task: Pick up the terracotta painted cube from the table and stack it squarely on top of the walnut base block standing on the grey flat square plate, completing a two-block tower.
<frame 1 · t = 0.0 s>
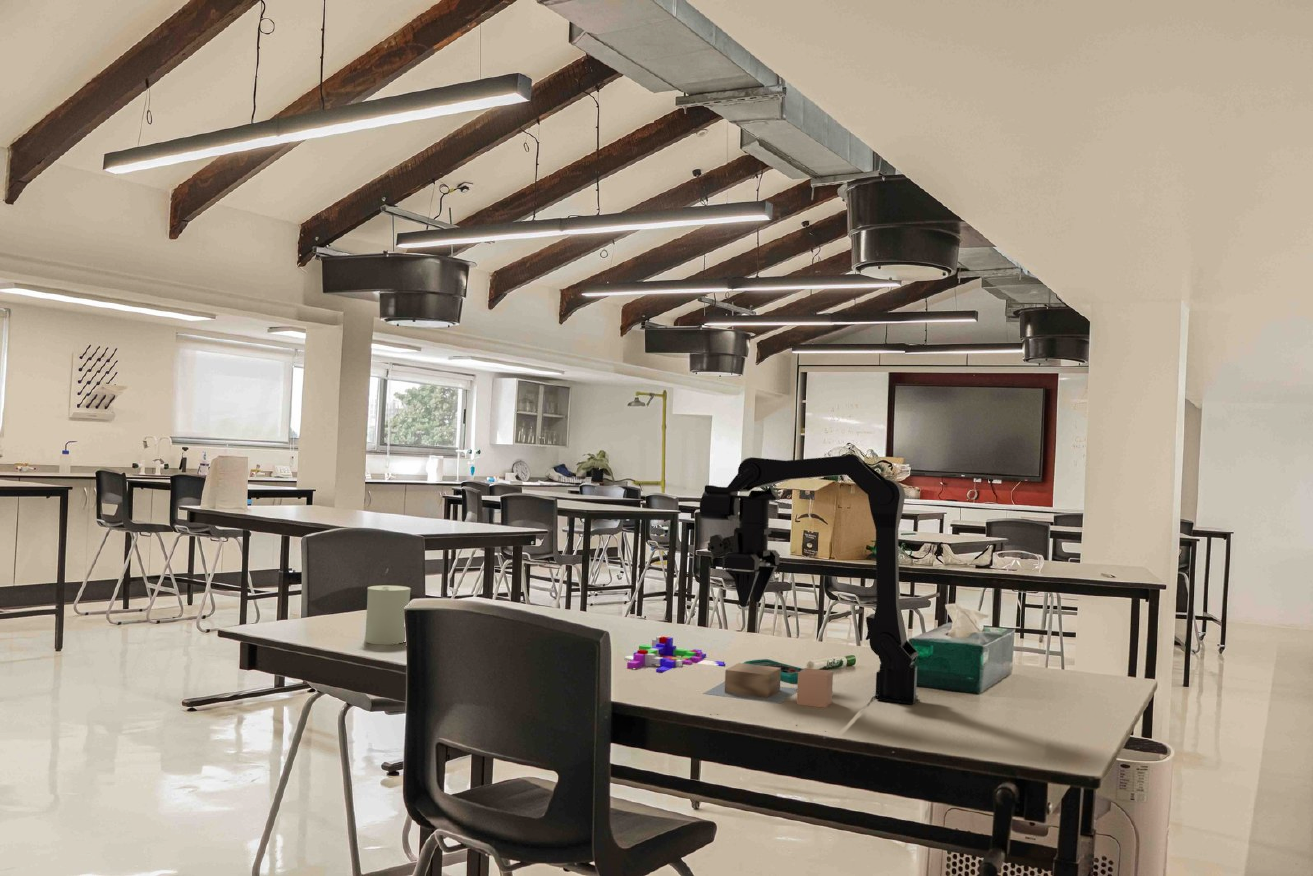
hand: (750, 604, 198), 15 cm above the table, fingers open, 9 cm apart
grey flat square plate: (752, 694, 186), on the table
building block set: (675, 665, 215), on the table
terracotta cube: (814, 706, 178), on the table
walnut base block: (752, 691, 186), point 1 cm above the table, touching grey flat square plate
can: (386, 642, 223), on the table
digital multimeter: (778, 681, 202), on the table
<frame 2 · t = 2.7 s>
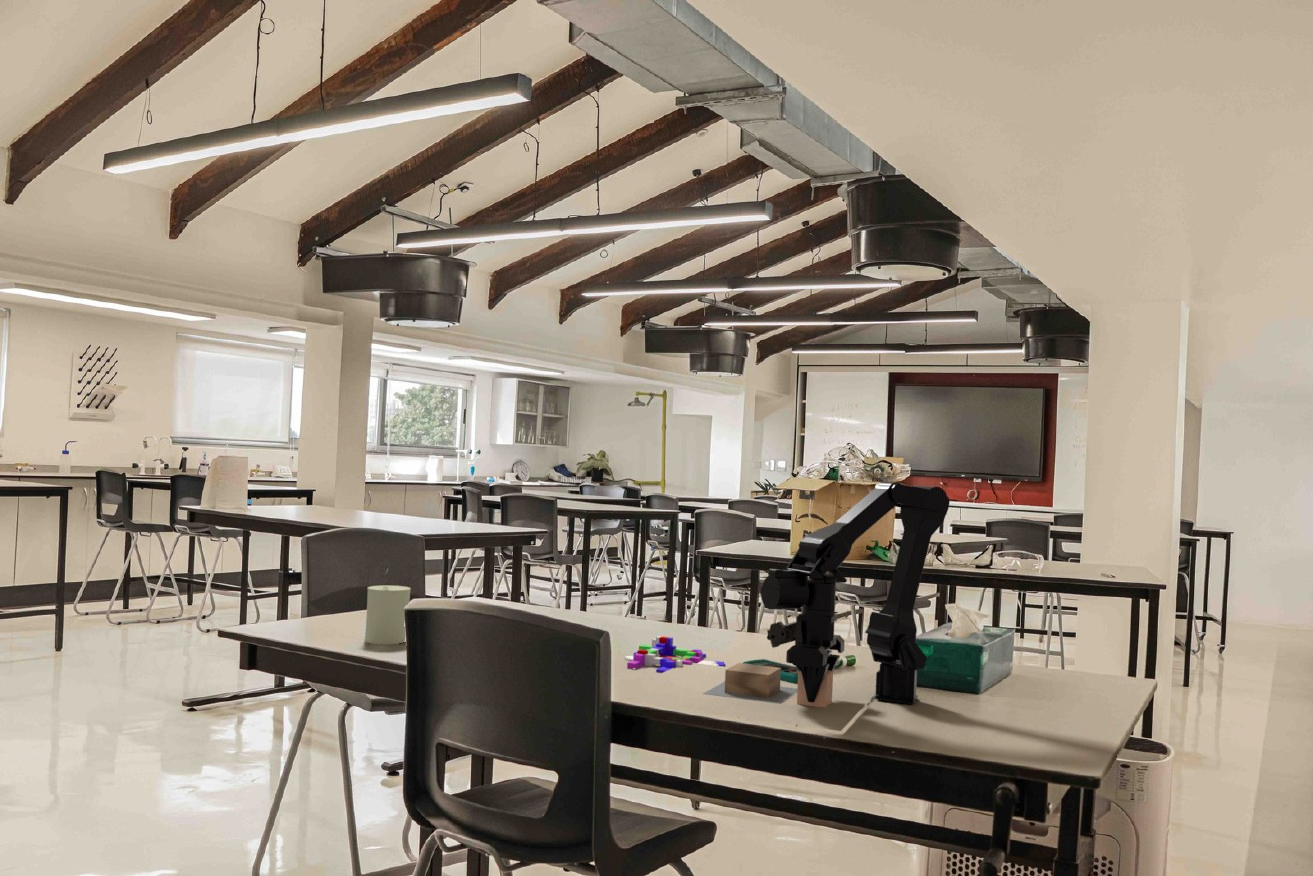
hand: (814, 699, 178), 1 cm above the table, fingers closed on terracotta cube, 5 cm apart
terracotta cube: (814, 706, 178), on the table, touching gripper
everything else where it was.
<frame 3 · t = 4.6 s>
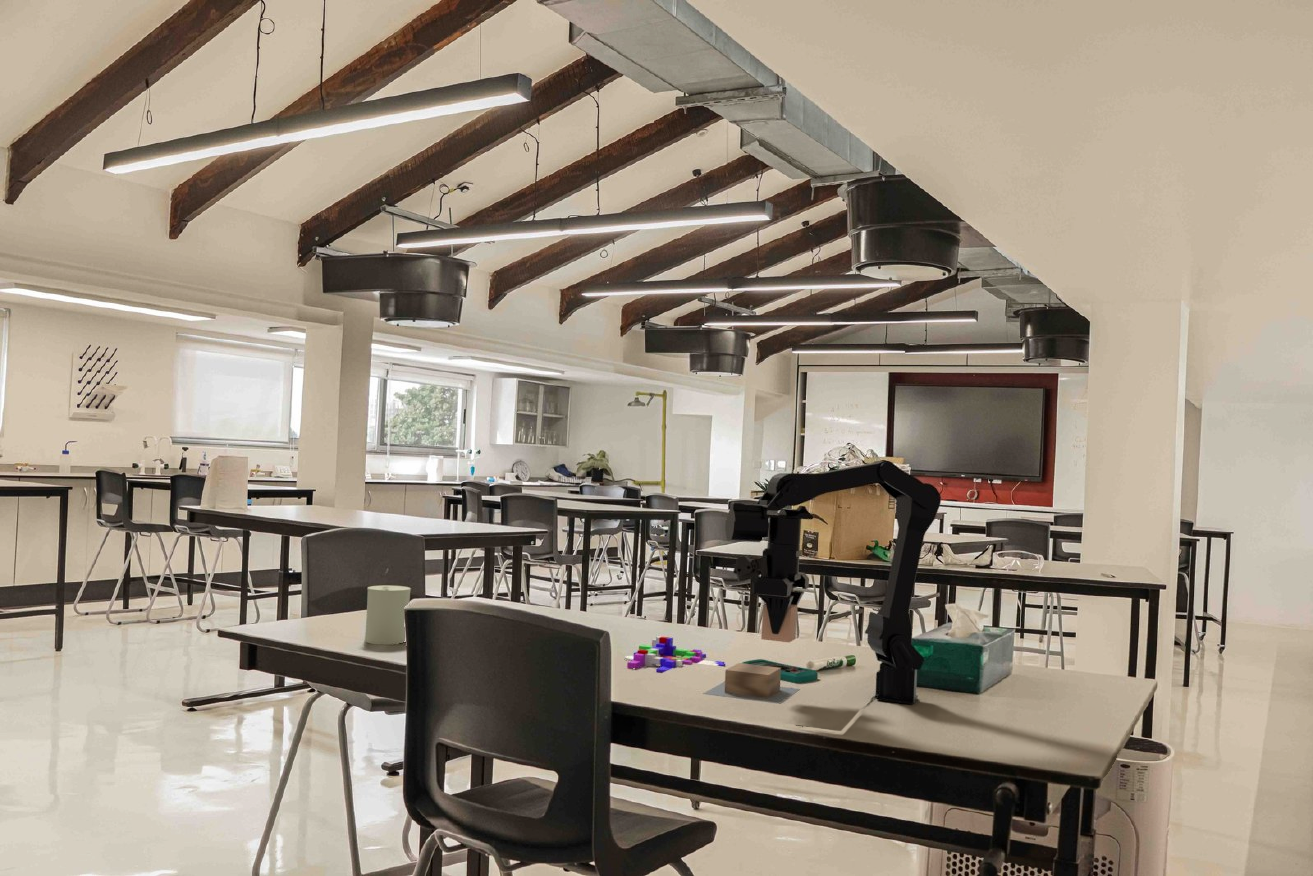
hand: (778, 632, 183), 12 cm above the table, fingers closed on terracotta cube, 5 cm apart
terracotta cube: (778, 639, 183), point 11 cm above the table, touching gripper
everything else where it was.
when the fingers open (7 cm above the table, at t = 6.2 s): terracotta cube stays where it is, resting on walnut base block.
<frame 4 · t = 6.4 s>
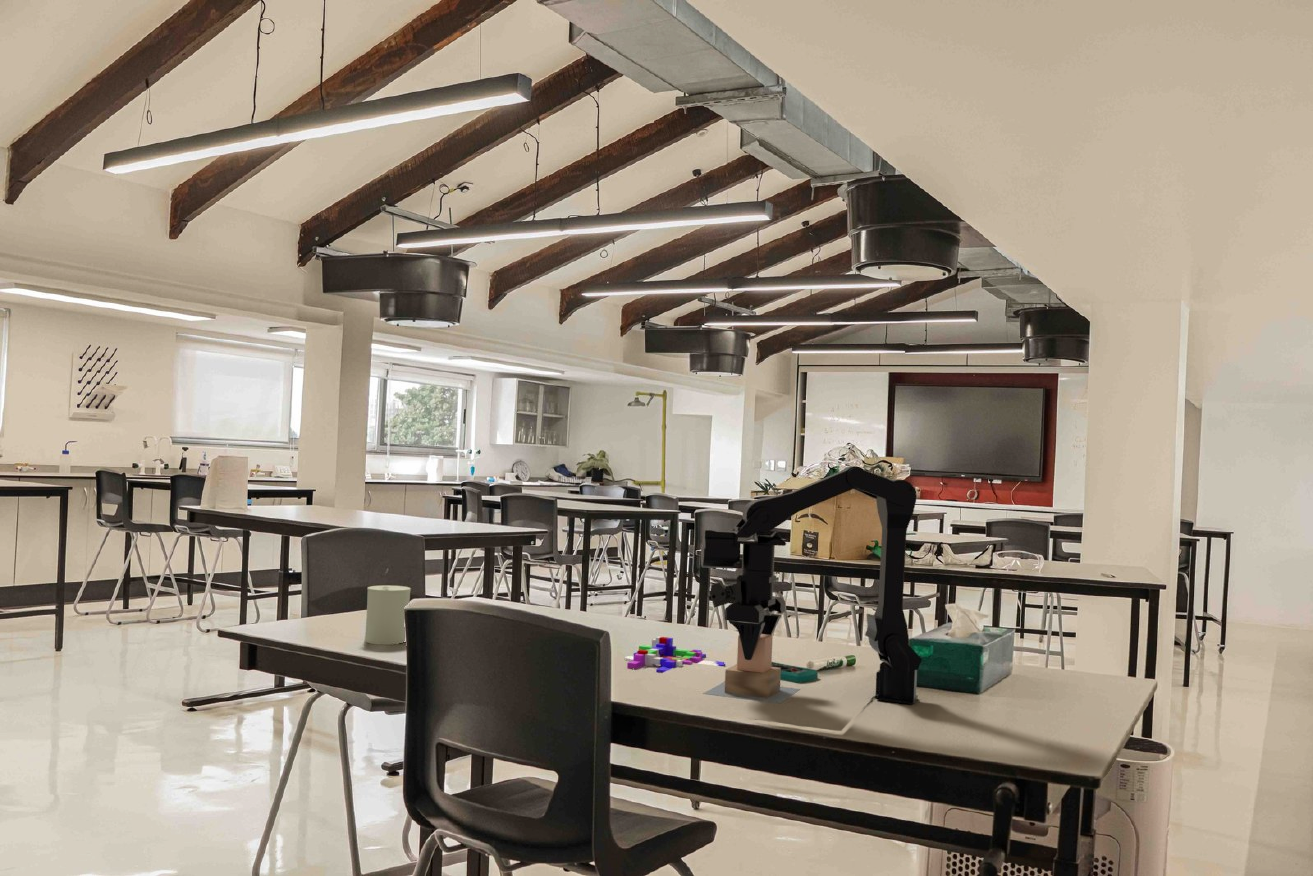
hand: (754, 656, 186), 7 cm above the table, fingers open, 7 cm apart
terracotta cube: (754, 668, 186), point 5 cm above the table, touching walnut base block
walnut base block: (752, 691, 186), point 1 cm above the table, touching grey flat square plate, terracotta cube
everything else where it was.
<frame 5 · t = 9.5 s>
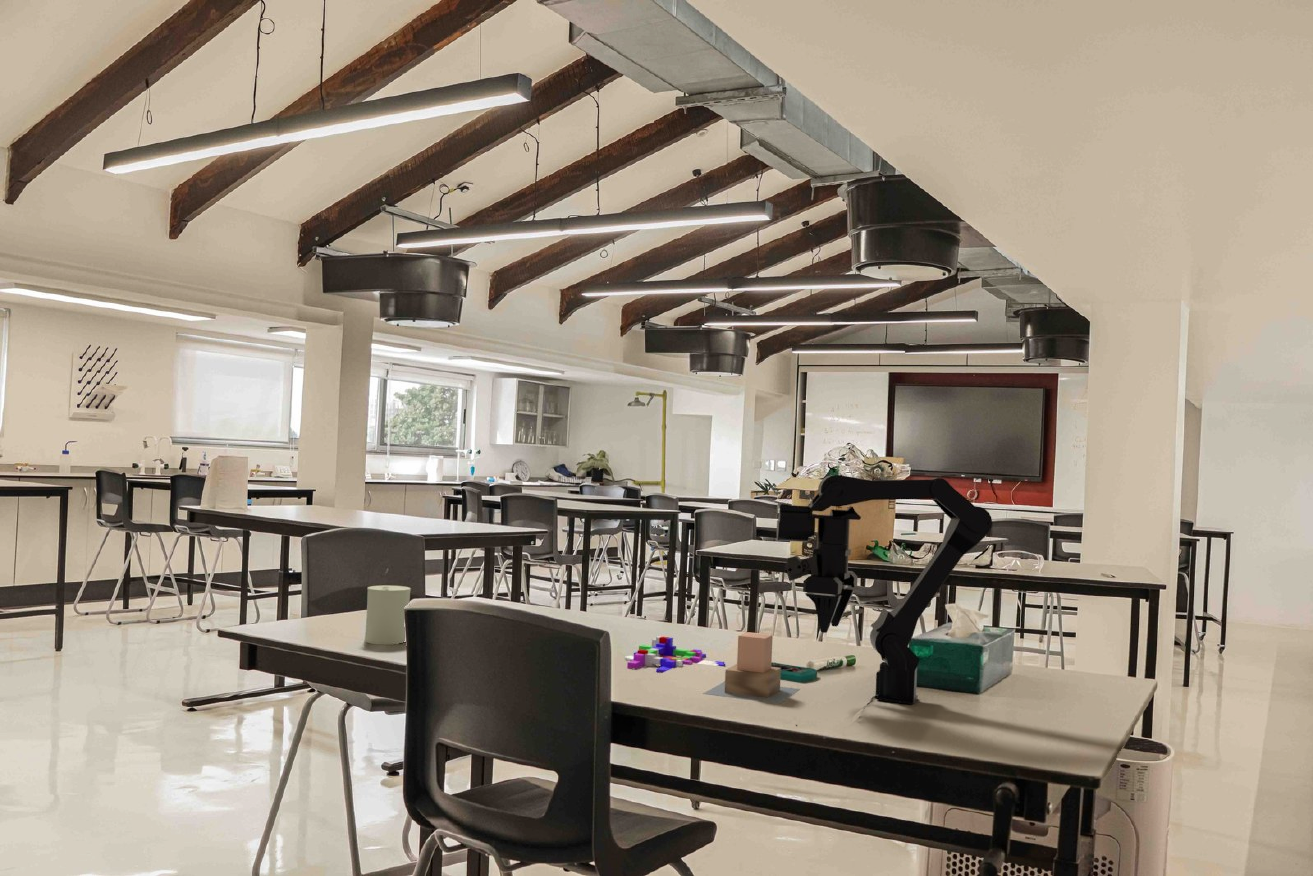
hand: (829, 629, 188), 12 cm above the table, fingers open, 9 cm apart
at the end: terracotta cube 0.1 cm off-centre on the walnut base block, point 4.0 cm above the walnut base block's base; terracotta cube tilted 0°; the gripper is holding nothing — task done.
